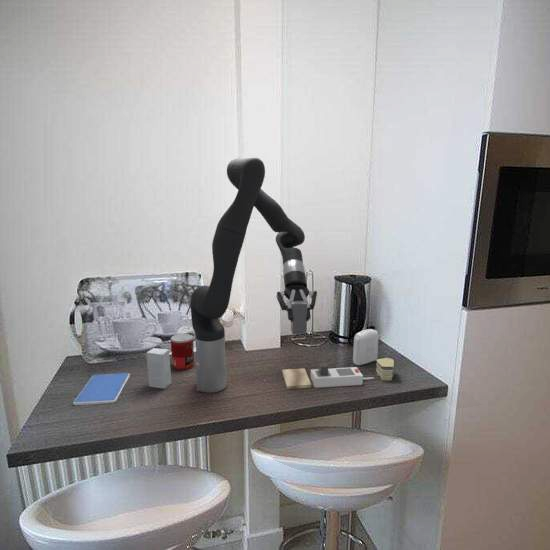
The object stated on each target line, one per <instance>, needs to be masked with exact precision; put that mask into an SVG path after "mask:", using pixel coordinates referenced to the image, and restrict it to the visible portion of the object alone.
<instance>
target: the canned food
mask: <svg viewBox="0 0 550 550" xmlns="http://www.w3.org/2000/svg"><path fill="white" fill-rule="evenodd" d="M194 348H195V347H194V336H193V335H192V334H189V333H178V334H175V335H172V336H171V337H170V350H171V351H170V352H171V363H172V367H173V369H175V370H178V371H186V370H190V369H192V368H193V367H194V365H195V353H194V352H195V350H194Z"/></svg>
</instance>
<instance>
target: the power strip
mask: <svg viewBox="0 0 550 550" xmlns="http://www.w3.org/2000/svg"><path fill="white" fill-rule="evenodd" d="M374 379H375V377H374V376H371V377H370V376H369V377H364V375H363V374H362V372H361V371H360V370H359V368H358V367H357V366H354V367H353V366H350V367H335V368H334V367H333V368H331V367H330V368H329V365H328V364H327V362H318V368H317V369H315V368H314V369H310V381H311V384H312V386H313V387H314V388H315V389H316V388H331V387H333V388H334V387H346V386H347V387H348V386H349V387H350V386H362V385H363V382H364V381H365V380H366V381H367V380H374Z"/></svg>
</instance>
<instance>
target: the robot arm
mask: <svg viewBox="0 0 550 550" xmlns="http://www.w3.org/2000/svg"><path fill="white" fill-rule="evenodd" d="M226 176H227V179H228V180H229V182H230V184H231V185H232V186H233V187H234V188H236V190H237V193H236V195H235V198H234V200H233V201H232V203H231V205H229V207H228V208H227V209H226V211H225V212H224V213H223V214H222V216H221V217H220V219H218V220H219V221H218V222H217V226H216V228H215V231H214V235H213V238H212V244H211V252H212V261H213V262H212V263H213V272H212V276H211V280H210V284H209V285H204V284H203V285H200V286H198V287H196V288H195V289H194V290H193V292H192V294H191V297H190V305H189V306H190V316H191V324H192V325H191V326H192V329H193V331H194V337H195V352H196V353H195V355H196V357H195V358H196V360H195V361H196V362H195V371H196V372H195V373H196V391H197V392H202V393H207V394H208V393H209V394H211V393H218V392H220V391H222V390H224V389H225V388H226V387H227V364H226V362H227V361H226V335H225V334H226V333H225V327H224V325H223V324H222V323H221V321H220V319H221V318H222V317H223V316H224V314H225V313H226V311H227V310H228V307H229V304H230V299H231V295H232V288H233V283H234V282H233V281H234V277H235V274H236V269H237V265H238V262H239V257H240V255H241V252H242V249H243V246H244V245H243V244H244V242H245V237H246V234H247V228H248V226H249V224H250V223H249V222H250V219H251V217H252V213H253V209H254V208H255V209H256V210H257V211H258V212H259V213H260V215H261V216H262V218H263V219H264V221H265V222H266V223H267V224H268V227H270V229H271V230H272V231H273V232H274V233H277V234H276V237H275V242H276V244H277V247H278V249H279V252H280V253H281V254H280V255H281V258H282V265H283V266H282V268H283V269H282V273H283V275H282V277H283V283H284V291H277V292H276V300H277V301H278V305H279V306H280V309H281V310H282V311H286V313H287V319H288V321H290V323H291V322H293V312H292V309H291V307H292V302H293V301H305V302H306V303H307V322H309V320H310V319H311V311H313V310H314V309H315V306H316V301H317V295H318V292H317V290H314V291H310V290H309V289H308V284H307V276H306V269H305V265H304V260H303V253H302V251H301V250H300V249H299V248H297V246H300V245H302V244H303V243H304V242H305V238H306V236H305V232H304V231H303V229H302V228H301V227H300V226H299V225H298V224H297V223H295V222H294V221H293V220H292V219H290V218H289V216H288V215H287V213H286V212H285V211H284V209H283V208H282V207H281V205H280V204H279V203H278V202H277V201H276V200H275V199H274V198H272V197H271V196H270V195H269V194H267V193H266V192H265V191H264V190H263V189H262V186H263V184H264V180H265V178H266V167H265V164H264V162H263V160H262V159H260V158H259V157H255V156H249V157H247V156H246V157H245V156H244V157H236V158H233V159H231V160H230V161H229V162H228V164H227V167H226ZM308 296H309V298H310V299H311V301H310V303H309V302H308ZM284 297H285V298H286V299H287V300H288V301H289V302H288V304H286V302H285V300H284Z"/></svg>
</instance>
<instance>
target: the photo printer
mask: <svg viewBox="0 0 550 550" xmlns="http://www.w3.org/2000/svg"><path fill="white" fill-rule="evenodd" d="M379 336H380V335H379V332H378V330H375V329H373V328H368V329H363V330H361V331H359V332H356V333H355V335H354V337H353V351H352V353H353V354H352V363H353V364H355V365H356V366H362V365H363V366H364V365H366V364H369V363H372V362H375V361H376V360H377V359H378V356H379V355H378V354H379V340H380V337H379Z"/></svg>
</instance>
